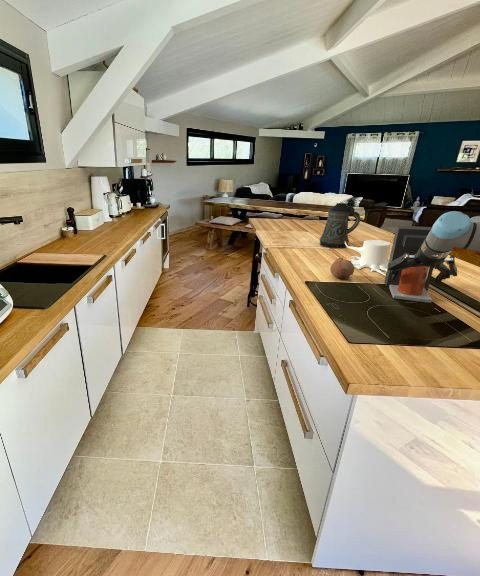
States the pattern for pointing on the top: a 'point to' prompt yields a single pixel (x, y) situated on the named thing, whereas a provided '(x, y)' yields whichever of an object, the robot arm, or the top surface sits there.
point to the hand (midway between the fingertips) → (414, 279)
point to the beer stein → (338, 226)
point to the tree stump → (372, 255)
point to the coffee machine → (409, 242)
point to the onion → (342, 268)
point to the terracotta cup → (413, 280)
